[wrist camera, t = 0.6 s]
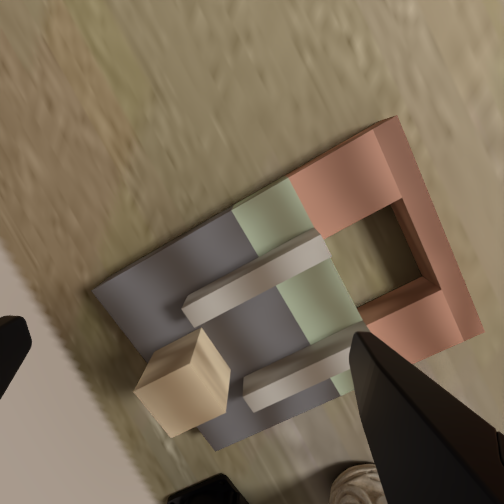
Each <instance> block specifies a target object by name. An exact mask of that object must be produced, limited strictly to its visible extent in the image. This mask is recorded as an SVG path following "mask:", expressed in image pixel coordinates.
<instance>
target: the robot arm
mask: <svg viewBox="0 0 504 504" xmlns="http://www.w3.org/2000/svg"><path fill="white" fill-rule="evenodd" d="M31 345H32V339H31V336H30V333H29V330H28V327H27V324H26V321H25V319H24V318H23V317H21V316H3V317H1V318H0V399H1V397H2V396H3V394H4V393H5V391H6V389H7V388H8V386H9V384H10V382H11V381H12V379H13V377H14V376H15V374H16V372H17V370H18V369H19V367H20V365H21V364H22V362H23V360H24V359H25V357H26V355H27V353H28V352H29V350H30V348H31ZM349 365H350V370H351V375H352V380H353V385H354V390H355V395H356V400H357V405H358V409H359V414H360V418H361V422H362V425H363V428H364V432H365V435H366V438H367V441H368V444H369V447H370V450H371V454H372V457H373V460H374V463H375V466H376V469H377V472H378V475H379V479H380V482H381V485H382V488H383V491H384V494H385V497H386V501H387V504H504V435H503V434H502V433H501V432H496V429H495V428H494V427H493V426H491V425H490V424H489V423H488V422H486V421H485V420H484V419H482V418H481V417H480V416H479V415H477V414H476V413H475V412H473V411H472V410H471V409H470V408H468V407H467V406H466V405H464V404H463V403H462V402H460V401H459V400H458V399H457V398H455V397H454V396H453V395H451V394H450V393H449V392H448V391H446V390H445V389H444V388H442V387H441V386H440V385H439V384H437V383H436V382H435V381H433V380H432V379H431V378H429V377H428V376H427V375H426V374H424V373H423V372H422V371H420V370H419V369H418V368H417V367H415V366H414V365H413V364H411V363H410V362H409V361H408V360H406V359H405V358H404V357H402V356H401V355H400V354H399V353H397V352H396V351H395V350H393V349H392V348H391V347H389V346H388V345H387V344H386V343H384V342H383V341H382V340H380V339H379V338H378V337H377V336H375V335H374V334H373V333H371V332H365V331H356V332H355V333H354V335H353V338H352V343H351V348H350V352H349ZM167 504H249V503H248V502H247V501H246V499H245V498H244V497H243V495H242V494H241V493H240V492H239V491H238V489H237V488H236V487H235V486H234V484H233V483H232V482H231V480H230V479H229V478H228V477H227V476H226V475H219V476H217V477H215V478H212V479H210V480H208V481H205V482H203V483H201V484H198V485H196V486H194V487H191V488H189V489H187V490H184V491H182V492H180V493H177V494H175V495H173V496H170V497H169V499H168V502H167Z"/></svg>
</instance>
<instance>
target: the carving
mask: <svg viewBox="0 0 504 504" xmlns="http://www.w3.org/2000/svg"><path fill="white" fill-rule="evenodd" d="M329 503H330V504H387V501H386V497H385V494H384V491H383V488H382V485H381V482H380V479H379V475H378V472H377V469H376V466H375V464H363V465H357V466H353V467H350V468H348V469H347V470H345V471H344V472H342V473H341V474H340V475H339V476H338V477H337V478H336V480H335V481H334V482H333V484H332V487H331V491H330V498H329Z"/></svg>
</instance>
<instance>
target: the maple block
mask: <svg viewBox="0 0 504 504" xmlns="http://www.w3.org/2000/svg"><path fill="white" fill-rule="evenodd" d="M230 372H231V369H230V368H229V367H228V365H227V364H226V362H225V361H224V359H223V358H222V356H221V355H220V353H219V352H218V351H217V349H216V348H215V346H214V345H213V343H212V342H211V340H210V339H209V338H208V336H207V335H206V333H205V332H204V330H203V329H202V327H201V328H199V329H197V330H195V331H193V332H191V333H189V334H187V335H186V336H184V337H182V338H180V339H178V340H176V341H174V342H172V343H170V344H168V345H166V346H164V347H162V348H160V349H159V350H157V351H155V352H154V353H153V355H152V357H151V359H150V361H149V363H148V365H147V367H146V368H145V370H144V372H143V374H142V376H141V378H140V380H139V382H138V384H137V386H136V388H135V389H134V391H133V392H134V393H135V394H136V396H137V397H138V398H139V399H140V401H141V402H142V403H143V404H144V405H145V407H146V408H147V409H148V410H149V412H150V413H151V414H152V415H153V417H154V418H155V419H156V420H157V421H158V423H159V424H160V425H161V426H162V428H163V429H164V430H165V431H166V433H167V434H168V435H169V436H170V437H171V438H172V437H174V436H177V435H179V434H181V433H183V432H185V431H187V430H190V429H192V428H194V427H196V426H198V425H200V424H203V423H205V422H207V421H209V420H211V419H213V418H216V417H218V416H220V415H222V414H224V413H226V407H227V399H228V390H229V381H230Z"/></svg>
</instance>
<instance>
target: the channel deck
mask: <svg viewBox="0 0 504 504" xmlns="http://www.w3.org/2000/svg"><path fill="white" fill-rule="evenodd" d="M389 204H390V205H391V207H392V209H393V211H394V214H395V216H396V218H397V220H398V223H399V225H400V227H401V229H402V232H403V234H404V236H405V238H406V241H407V243H408V245H409V247H410V250H411V252H412V254H413V256H414V259H415V261H416V263H417V265H418V268H419V270H420V272H421V274H422V277H420V278H418V279H416V280H413V281H411V282H409V283H407V284H405V285H403V286H401V287H399V288H397V289H395V290H393V291H391V292H389V293H387V294H385V295H383V296H381V297H378V298H376V299H374V300H372V301H370V302H368V303H366V304H364V305H362V306H360V307H358V308H356V306H355V304H354V302H353V301H352V299H351V297H350V295H349V293H348V291H347V289H346V287H345V285H344V283H343V281H342V279H341V278H340V276H339V274H338V272H337V270H336V268H335V266H334V264H333V262H332V260H331V258H330V257H332V255H331V253H330V251H329V250H328V248H327V246H326V244H325V242H324V240H323V239H325V238H327V237H329V236H331V235H333V234H335V233H337V232H338V231H340V230H342V229H344V228H346V227H348V226H350V225H352V224H353V223H355V222H357V221H359V220H361V219H363V218H365V217H367V216H369V215H370V214H372V213H374V212H376V211H378V210H380V209H382V208H384V207H386V206H387V205H389ZM92 292H93V294H94V295H95V296H96V298H97V299H98V300H99V301H100V303H101V304H102V305H103V307H104V308H105V309H106V310H107V312H108V313H109V314H110V316H111V317H112V318H113V319H114V321H115V322H116V323H117V325H118V326H119V327H120V329H121V330H122V331H123V332H124V334H125V335H126V336H127V338H128V339H129V340H130V341H131V343H132V344H133V345H134V347H135V348H136V349H137V351H138V352H139V353H140V354H141V356H142V357H143V358H144V360H145V361H146V362H147V363H149V361H150V359H151V357H152V355H153V353H154V352H155V351H157V350H159V349H160V348H162V347H164V346H166V345H168V344H170V343H172V342H174V341H176V340H178V339H180V338H182V337H184V336H186V335H187V334H189V333H191V332H193V331H195V330H197V329H199V328H201V327H202V329H203V330H204V332H205V333H206V335H207V336H208V338H209V339H210V340H211V342H212V343H213V345H214V346H215V348H216V349H217V351H218V352H219V353H220V355H221V356H222V358H223V359H224V361H225V362H226V364H227V365H228V367H229V368H230V369H231V372H230V381H229V390H228V399H227V407H226V413H224V414H222V415H220V416H218V417H216V418H213V419H211V420H209V421H207V422H205V423H203V424H200V425H198V426H196V427H197V428H198V429H199V431H200V432H201V433H202V435H203V436H204V437H205V439H206V440H207V441H208V442H209V444H210V445H211V446H212V448H213V449H214V450H215V451H218V450H220V449H222V448H224V447H227V446H229V445H231V444H233V443H236V442H238V441H240V440H242V439H245V438H247V437H249V436H252V435H254V434H256V433H258V432H261V431H263V430H265V429H267V428H270V427H272V426H274V425H276V424H279V423H281V422H283V421H285V420H288V419H290V418H292V417H294V416H297V415H299V414H301V413H303V412H306V411H308V410H310V409H312V408H315V407H317V406H319V405H321V404H324V403H326V402H328V401H330V400H333V399H335V398H337V397H339V396H342V395H344V394H346V393H348V392H351V391H353V390H354V385H353V380H352V375H351V370H350V365H349V352H350V348H351V343H352V338H353V335H354V333H355V332H356V331H365V332H371V333H373V334H374V335H375V336H377V337H378V338H379V339H380V340H382V341H383V342H384V343H386V344H387V345H388V346H389V347H391V348H392V349H393V350H395V351H396V352H397V353H399V354H400V355H401V356H402V357H404V358H405V359H406V360H408V361H409V362H410V363H411V364H414V363H416V362H418V361H421V360H423V359H425V358H427V357H430V356H432V355H434V354H436V353H439V352H441V351H443V350H445V349H448V348H450V347H452V346H454V345H457V344H459V343H461V342H463V341H466V340H468V339H470V338H472V337H475V336H477V335H479V334H481V333H484V332H485V331H484V329H483V326H482V324H481V321H480V319H479V316H478V314H477V311H476V309H475V306H474V304H473V301H472V299H471V296H470V294H469V291H468V289H467V287H466V284H465V282H464V279H463V277H462V274H461V272H460V269H459V267H458V264H457V262H456V259H455V257H454V254H453V252H452V249H451V247H450V245H449V242H448V240H447V237H446V235H445V232H444V230H443V227H442V225H441V222H440V220H439V217H438V215H437V212H436V210H435V208H434V205H433V203H432V200H431V198H430V195H429V193H428V190H427V188H426V185H425V183H424V180H423V178H422V175H421V173H420V170H419V168H418V166H417V163H416V161H415V158H414V156H413V153H412V151H411V148H410V146H409V143H408V141H407V138H406V136H405V133H404V131H403V128H402V126H401V124H400V121H399V119H398V116H397V115H396V116H393V117H390V118H387V119H384V120H381V121H379V122H377V123H375V124H373V125H372V126H370V127H368V128H367V129H365V130H363V131H361V132H360V133H358V134H356V135H354V136H353V137H351V138H349V139H347V140H346V141H344V142H342V143H340V144H339V145H337V146H335V147H334V148H332V149H330V150H328V151H327V152H325V153H323V154H321V155H320V156H318V157H316V158H314V159H313V160H311V161H309V162H307V163H306V164H304V165H302V166H301V167H299V168H297V169H295V170H294V171H292V172H290V173H288V174H287V175H285V176H283V177H281V178H280V179H278V180H276V181H274V182H273V183H271V184H269V185H268V186H266V187H264V188H262V189H261V190H259V191H257V192H255V193H254V194H252V195H250V196H248V197H247V198H245V199H243V200H241V201H240V202H238V203H236V204H235V205H233V206H231V207H229V208H228V209H226V210H224V211H222V212H221V213H219V214H217V215H215V216H214V217H212V218H210V219H208V220H207V221H205V222H203V223H202V224H200V225H198V226H196V227H195V228H193V229H191V230H189V231H188V232H186V233H184V234H182V235H181V236H179V237H177V238H176V239H174V240H172V241H170V242H169V243H167V244H165V245H163V246H162V247H160V248H158V249H156V250H155V251H153V252H151V253H149V254H148V255H146V256H144V257H143V258H141V259H139V260H137V261H136V262H134V263H132V264H130V265H129V266H127V267H125V268H123V269H122V270H120V271H118V272H116V273H115V274H113V275H111V276H110V277H108V278H107V279H105V280H104V281H103V282H102V283H100V284H99V285H98V286H97V287H95V288H94V289H93V290H92Z"/></svg>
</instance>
